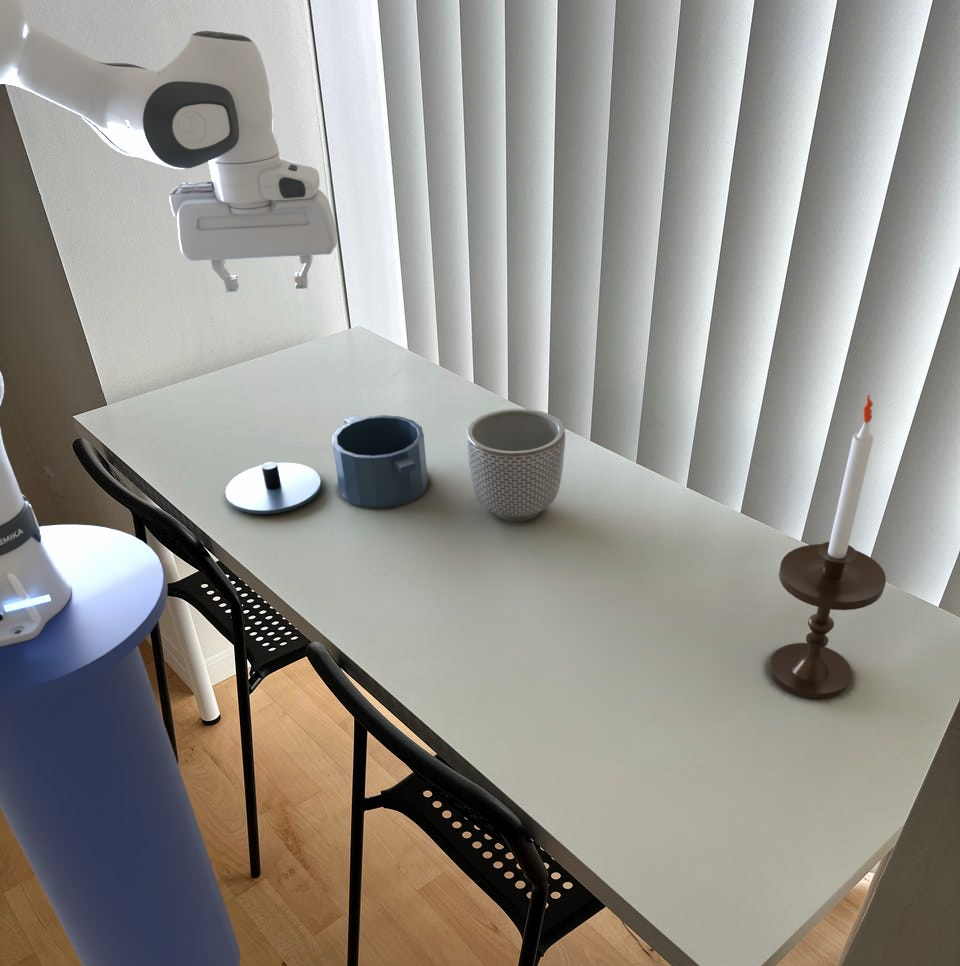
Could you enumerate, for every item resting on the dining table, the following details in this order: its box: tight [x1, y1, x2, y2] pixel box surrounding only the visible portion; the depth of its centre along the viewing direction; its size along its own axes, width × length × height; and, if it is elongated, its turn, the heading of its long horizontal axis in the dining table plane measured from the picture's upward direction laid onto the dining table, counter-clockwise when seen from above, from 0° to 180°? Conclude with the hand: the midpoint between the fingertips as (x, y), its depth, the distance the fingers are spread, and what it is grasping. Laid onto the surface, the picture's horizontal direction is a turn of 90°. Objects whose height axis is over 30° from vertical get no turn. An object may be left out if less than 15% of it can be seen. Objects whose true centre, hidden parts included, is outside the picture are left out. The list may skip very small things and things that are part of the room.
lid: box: [225, 461, 322, 515], centre depth 150 cm, size 15×15×5 cm
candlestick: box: [768, 394, 887, 701], centre depth 103 cm, size 11×11×35 cm
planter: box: [465, 408, 566, 523], centre depth 141 cm, size 14×14×13 cm
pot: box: [331, 414, 429, 509], centre depth 149 cm, size 14×19×8 cm
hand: (267, 289), depth 132 cm, fingers open, 8 cm apart
